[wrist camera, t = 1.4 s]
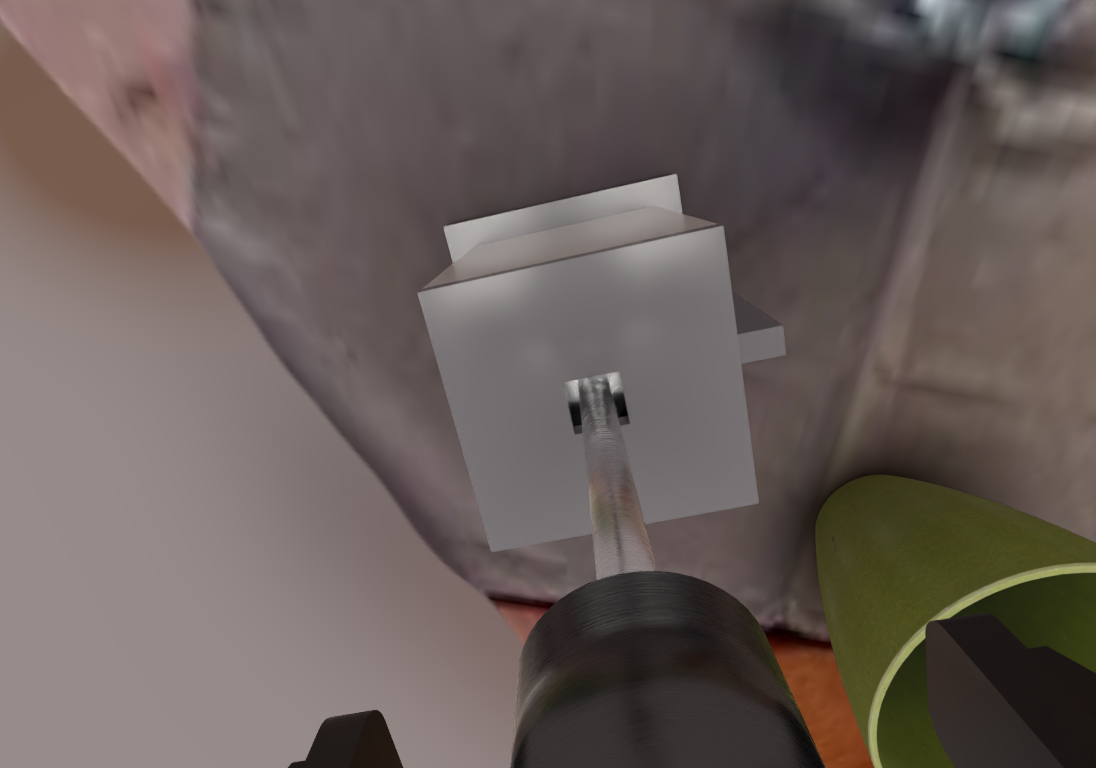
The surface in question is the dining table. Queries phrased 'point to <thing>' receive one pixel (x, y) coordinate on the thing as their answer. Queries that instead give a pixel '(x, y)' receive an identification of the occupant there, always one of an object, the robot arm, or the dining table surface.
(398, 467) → the dining table surface
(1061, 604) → the flower pot
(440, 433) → the dining table surface
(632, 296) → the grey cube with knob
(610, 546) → the plunger
